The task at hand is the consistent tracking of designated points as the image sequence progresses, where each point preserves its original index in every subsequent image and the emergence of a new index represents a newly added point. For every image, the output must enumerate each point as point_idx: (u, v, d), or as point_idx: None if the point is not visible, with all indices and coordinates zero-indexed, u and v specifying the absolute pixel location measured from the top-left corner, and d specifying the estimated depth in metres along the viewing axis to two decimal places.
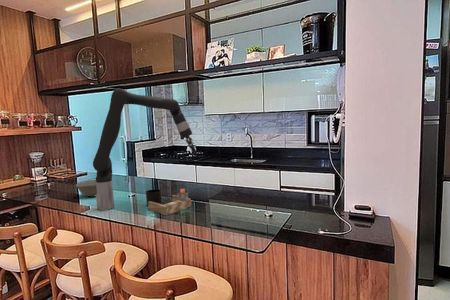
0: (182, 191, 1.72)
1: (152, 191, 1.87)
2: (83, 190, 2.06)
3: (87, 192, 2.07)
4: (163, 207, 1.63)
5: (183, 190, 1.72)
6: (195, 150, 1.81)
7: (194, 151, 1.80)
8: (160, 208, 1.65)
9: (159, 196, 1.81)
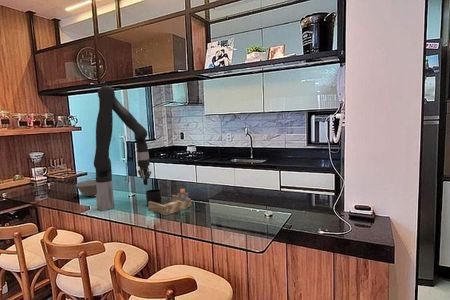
0: (182, 191, 1.72)
1: (152, 191, 1.87)
2: (83, 190, 2.06)
3: (87, 192, 2.07)
4: (163, 207, 1.63)
5: (183, 190, 1.72)
6: (147, 182, 1.91)
7: (146, 182, 1.90)
8: (160, 208, 1.65)
9: (159, 196, 1.81)
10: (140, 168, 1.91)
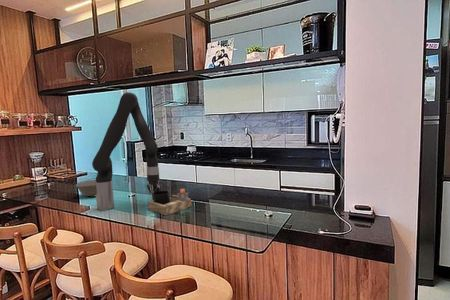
0: (182, 191, 1.72)
1: (159, 193, 1.82)
2: (83, 190, 2.06)
3: (87, 192, 2.07)
4: (163, 207, 1.63)
5: (183, 190, 1.72)
6: None
7: None
8: (160, 208, 1.65)
9: (167, 198, 1.76)
10: (149, 183, 1.85)
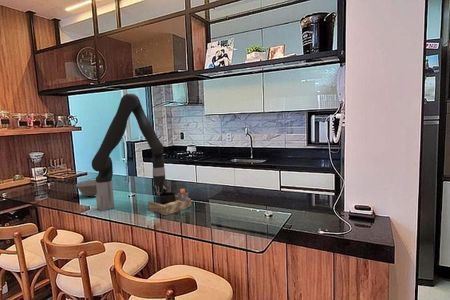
0: (182, 191, 1.72)
1: (165, 194, 1.77)
2: (83, 190, 2.06)
3: (87, 192, 2.07)
4: (163, 207, 1.63)
5: (183, 190, 1.72)
6: None
7: None
8: (160, 208, 1.65)
9: (173, 199, 1.71)
10: (155, 184, 1.81)
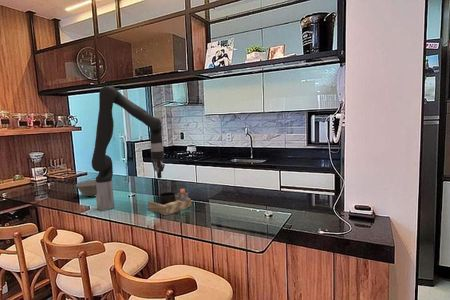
0: (182, 191, 1.72)
1: (165, 194, 1.77)
2: (83, 190, 2.06)
3: (87, 192, 2.07)
4: (163, 207, 1.63)
5: (183, 190, 1.72)
6: None
7: (160, 176, 1.80)
8: (160, 208, 1.65)
9: (173, 199, 1.71)
10: (154, 160, 1.81)
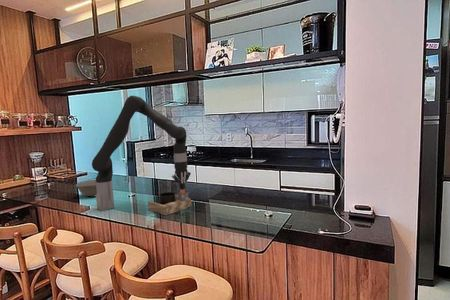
0: (182, 191, 1.72)
1: (165, 194, 1.77)
2: (83, 190, 2.06)
3: (87, 192, 2.07)
4: (163, 207, 1.63)
5: (183, 190, 1.72)
6: (182, 187, 1.72)
7: (181, 187, 1.72)
8: (160, 208, 1.65)
9: (173, 199, 1.71)
10: None
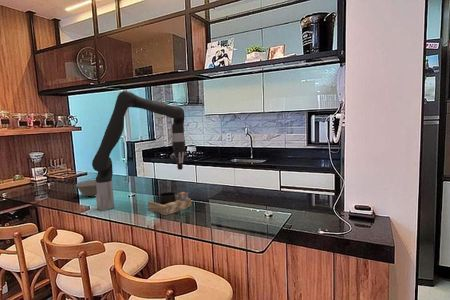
0: None
1: (165, 194, 1.77)
2: (83, 190, 2.06)
3: (87, 192, 2.07)
4: (163, 207, 1.63)
5: (183, 193, 1.72)
6: (180, 167, 1.73)
7: (178, 167, 1.73)
8: (160, 208, 1.65)
9: (173, 199, 1.71)
10: None
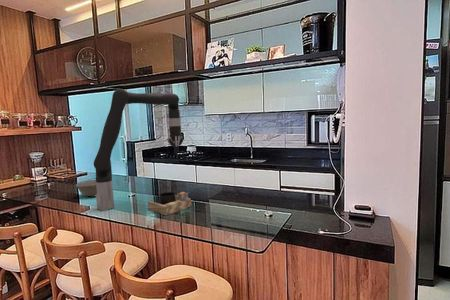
0: None
1: (165, 194, 1.77)
2: (83, 190, 2.06)
3: (87, 192, 2.07)
4: (163, 207, 1.63)
5: (183, 193, 1.72)
6: (176, 149, 1.88)
7: (175, 150, 1.88)
8: (160, 208, 1.65)
9: (173, 199, 1.71)
10: None
